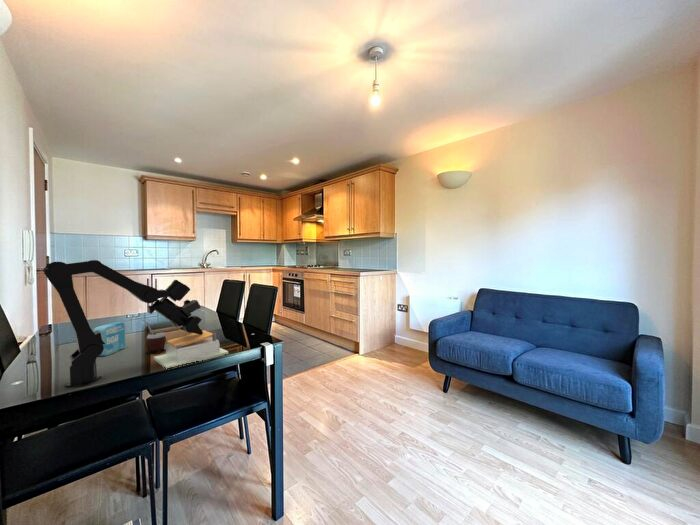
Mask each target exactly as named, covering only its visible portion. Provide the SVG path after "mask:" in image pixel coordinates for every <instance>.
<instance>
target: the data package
mask: <svg viewBox="0 0 700 525" xmlns="http://www.w3.org/2000/svg"><path fill="white" fill-rule="evenodd" d="M125 328H126V326H125V322H122V321H120V322H110V323H106V324H103V325H99V326H97V327H94V329H93V330H92V331H93V332H95V331H97V330H98V331H99V332H100V333H101V337H102V340H103V341H104V343H105V344H103V347H104V350H103V352H102V353H101V354H100V355H99V356H98V357H107V355H108V356H110V355H112V354H111V353H113V352H115V351H117V352H119V351H118V350H120V349H122V348H124V349H125V347H126V333H125V332H126V331H125V330H126V329H125ZM122 350H123V349H122ZM120 351H121V350H120ZM115 353H116V352H115ZM109 354H110V355H109ZM113 354H114V353H113Z"/></svg>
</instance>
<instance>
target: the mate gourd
mask: <svg viewBox="0 0 700 525" xmlns="http://www.w3.org/2000/svg"><path fill="white" fill-rule="evenodd" d="M139 319H140V320H141V321H143V322H145V324H146V325H147V327H148V330H149V333H148V334H147V336H146V340H145V343H146V344H145V345H146V347H147V354H148V355H151V354H161V353H162V352H163V350H164V351H166V348H165V347H166V340H167V337H166V334H165V332H163V331H156V332H153V331H152V329H151V326H150V325H149V322H148V321H147V320H146V319H143V318H141V317H140V318H139Z"/></svg>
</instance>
